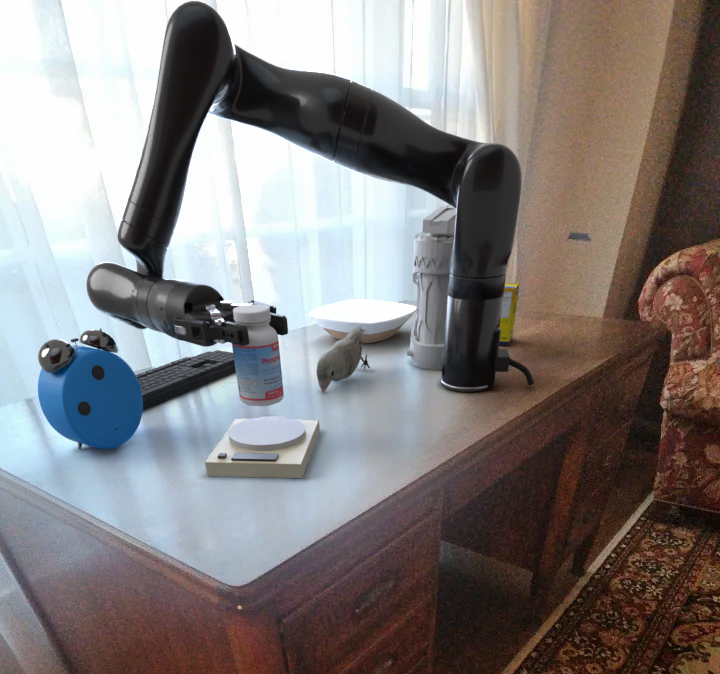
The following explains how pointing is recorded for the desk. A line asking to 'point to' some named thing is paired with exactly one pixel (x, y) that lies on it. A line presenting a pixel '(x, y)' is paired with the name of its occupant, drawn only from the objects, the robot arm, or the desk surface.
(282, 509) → the desk surface
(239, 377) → the pill bottle
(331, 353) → the decorative bird
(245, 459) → the scale
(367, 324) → the bowl
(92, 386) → the alarm clock
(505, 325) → the supplement box
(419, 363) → the lantern
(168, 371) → the keyboard
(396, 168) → the robot arm
